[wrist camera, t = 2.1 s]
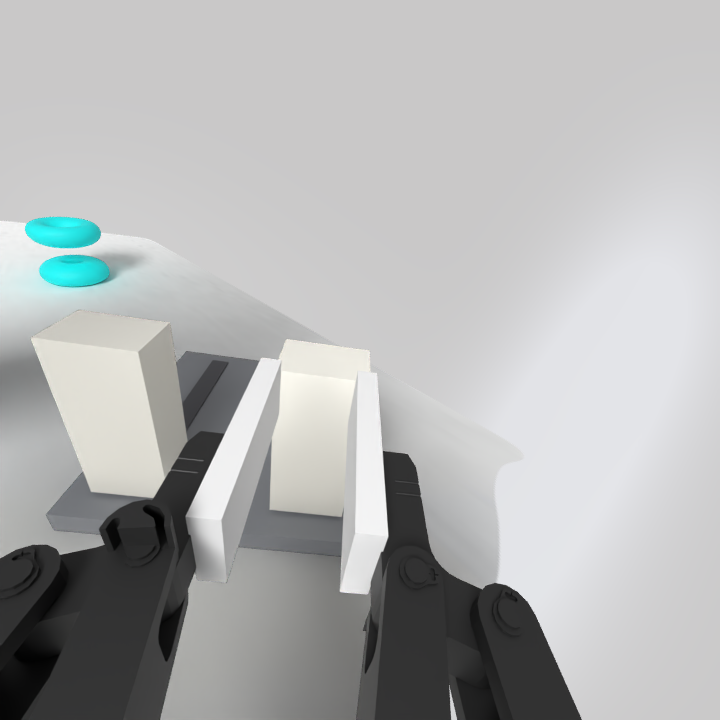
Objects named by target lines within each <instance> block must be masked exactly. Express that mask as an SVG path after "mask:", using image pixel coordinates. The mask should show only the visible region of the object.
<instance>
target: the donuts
mask: <svg viewBox="0 0 720 720" xmlns="http://www.w3.org/2000/svg"><path fill="white" fill-rule="evenodd" d="M25 231H26V234H27V235H28V236H29V237H30V238H31V239H32V240H33V241H35V242H37V243H39V244H42V245H45V246H49V247H55V248H80V247H85V246H89V245H92V244H94V243H95V242H97V241H98V240H99V238H100V236H101V231H100V229H99V227H98V226H97V225H95V224H94V223H92V222H90V221H88V220H84V219H78V218H70V217H46V218H38V219H34V220H32V221H30V222H28V223H27V224H26V226H25ZM39 272H40V275H41V277H42V278H43V279H44V280H46V281H47V282H49V283H52V284H55V285H59V286H69V287H78V286H88V285H93V284H97V283H100V282H102V281H104V280H105V279H106V278H107V277H108V276H109V273H110V271H109V268H108V266H107V265H106V264H105V263H104V262H103V261H101V260H99V259H97V258H94V257H90V256H84V255H64V256H58V257H54V258H51V259H49V260H47V261H45V262H44V263H43V264H42V265H41V266H40V269H39Z"/></svg>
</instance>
